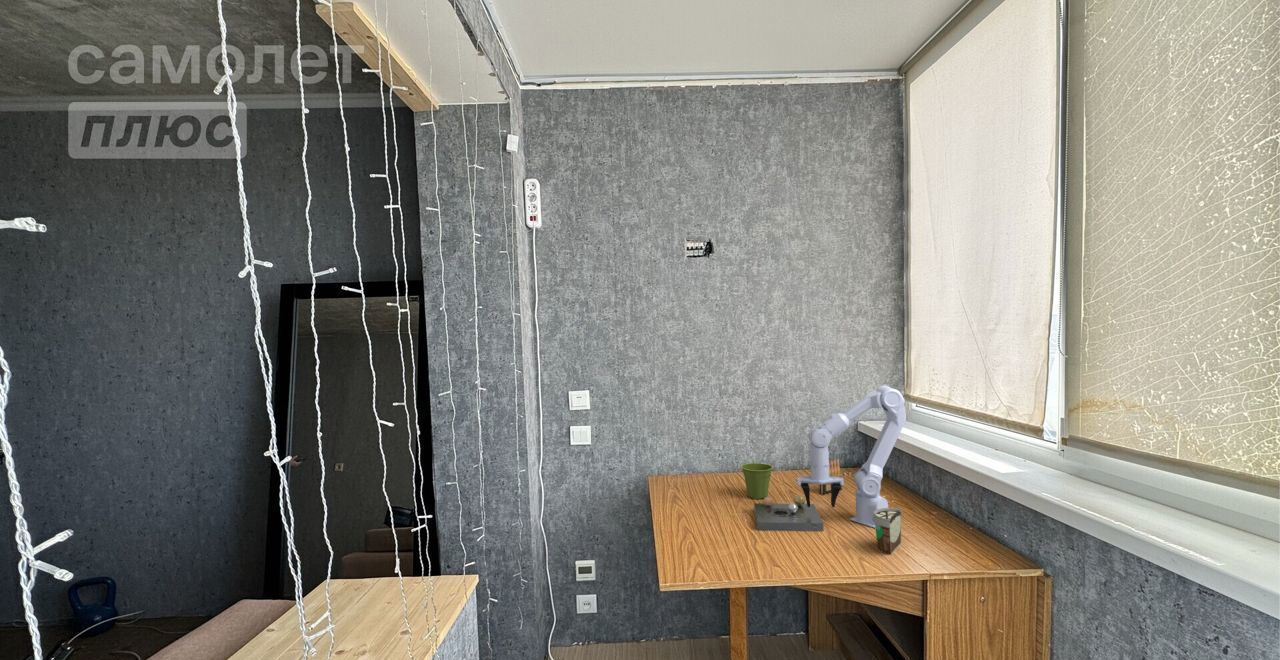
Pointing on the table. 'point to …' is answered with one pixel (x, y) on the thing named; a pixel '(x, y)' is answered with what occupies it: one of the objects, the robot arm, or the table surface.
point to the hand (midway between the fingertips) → (820, 506)
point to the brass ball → (799, 500)
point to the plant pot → (757, 479)
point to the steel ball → (792, 507)
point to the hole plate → (787, 518)
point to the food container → (888, 529)
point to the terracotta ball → (767, 501)
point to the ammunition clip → (833, 472)
